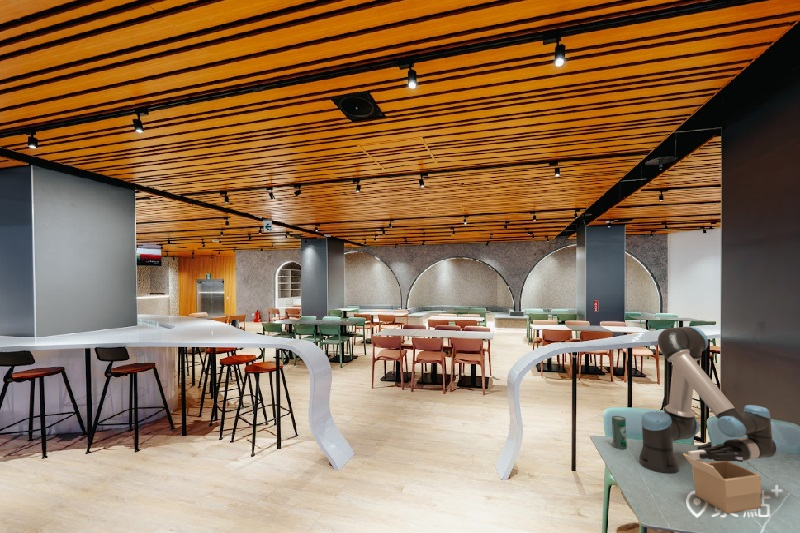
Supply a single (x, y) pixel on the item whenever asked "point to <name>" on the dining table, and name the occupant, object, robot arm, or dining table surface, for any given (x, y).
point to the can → (619, 432)
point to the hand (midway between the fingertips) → (690, 455)
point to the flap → (704, 467)
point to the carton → (729, 487)
